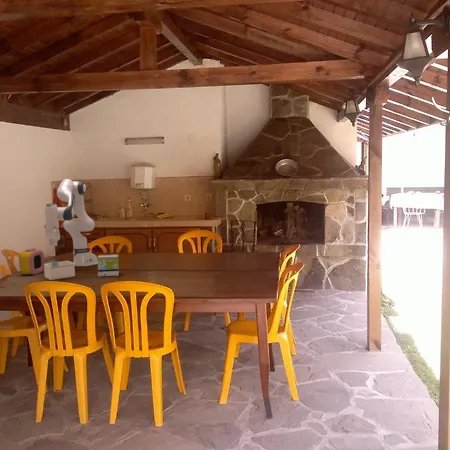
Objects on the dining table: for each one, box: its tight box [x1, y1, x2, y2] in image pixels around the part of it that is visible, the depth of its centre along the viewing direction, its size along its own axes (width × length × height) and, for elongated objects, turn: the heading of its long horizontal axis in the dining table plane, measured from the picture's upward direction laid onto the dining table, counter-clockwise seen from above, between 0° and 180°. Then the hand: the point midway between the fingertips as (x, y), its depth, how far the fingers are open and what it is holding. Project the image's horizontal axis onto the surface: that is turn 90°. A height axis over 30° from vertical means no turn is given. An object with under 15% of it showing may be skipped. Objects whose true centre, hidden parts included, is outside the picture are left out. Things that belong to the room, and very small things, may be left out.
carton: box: [43, 260, 76, 281], centre depth 368 cm, size 18×14×10 cm
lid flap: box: [50, 261, 75, 279], centre depth 362 cm, size 17×2×12 cm, turn 127°
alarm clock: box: [18, 247, 45, 276], centre depth 382 cm, size 18×11×19 cm, turn 168°
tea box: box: [97, 254, 120, 277], centre depth 370 cm, size 15×10×15 cm, turn 101°
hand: (53, 245), depth 357 cm, fingers open, 8 cm apart
